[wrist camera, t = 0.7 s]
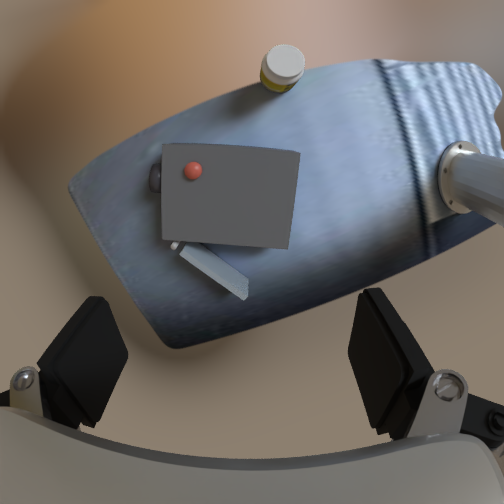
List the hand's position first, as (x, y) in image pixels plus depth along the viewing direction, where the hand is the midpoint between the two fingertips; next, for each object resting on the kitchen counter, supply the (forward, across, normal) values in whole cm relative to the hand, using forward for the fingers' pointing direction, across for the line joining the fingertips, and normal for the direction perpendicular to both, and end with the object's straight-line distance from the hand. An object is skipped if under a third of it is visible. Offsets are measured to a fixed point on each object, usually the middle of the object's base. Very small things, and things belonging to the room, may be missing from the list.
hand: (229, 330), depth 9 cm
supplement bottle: (+29, -4, -15) cm, 33 cm away
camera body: (+29, +4, +1) cm, 29 cm away
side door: (+29, +6, +11) cm, 31 cm away
